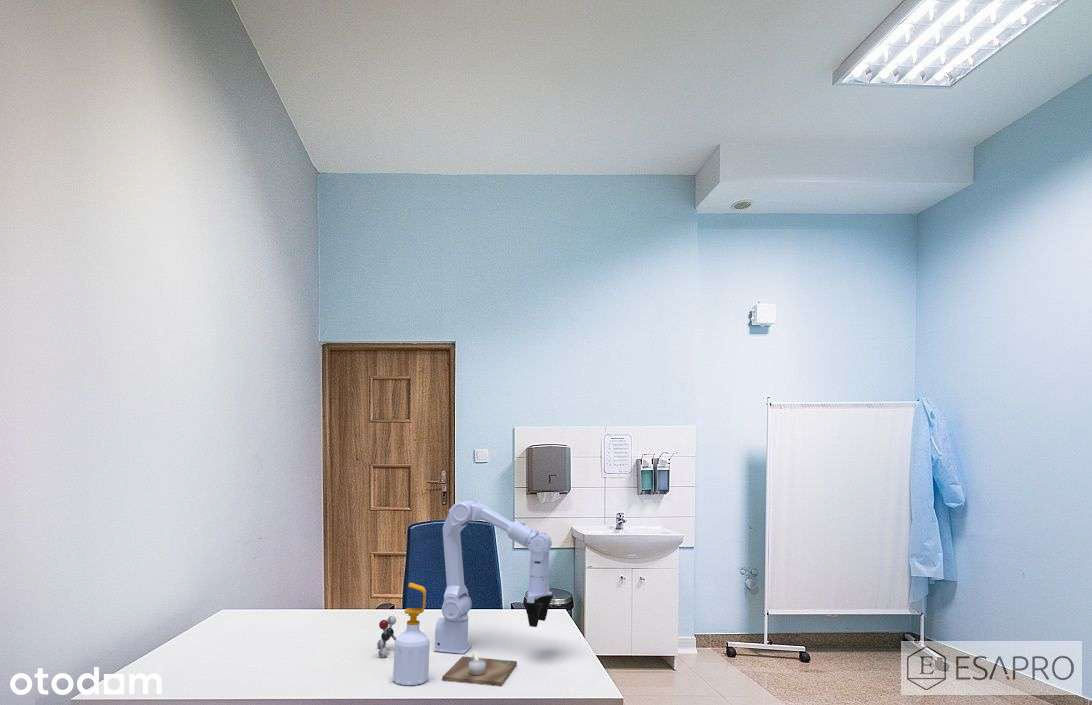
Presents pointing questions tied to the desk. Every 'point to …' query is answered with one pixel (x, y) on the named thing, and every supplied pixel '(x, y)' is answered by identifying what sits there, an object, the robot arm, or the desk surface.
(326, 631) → the desk surface
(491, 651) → the desk surface
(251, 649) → the desk surface
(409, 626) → the soap bottle
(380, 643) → the molecular model
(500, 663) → the dial board
